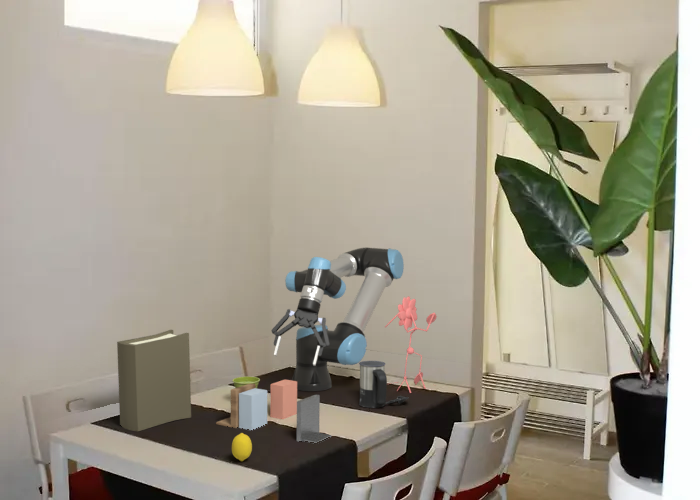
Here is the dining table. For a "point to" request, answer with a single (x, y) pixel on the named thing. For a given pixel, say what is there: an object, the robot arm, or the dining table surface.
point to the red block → (283, 399)
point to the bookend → (309, 420)
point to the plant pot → (245, 381)
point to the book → (154, 380)
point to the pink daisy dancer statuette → (406, 318)
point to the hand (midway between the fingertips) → (294, 360)
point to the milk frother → (374, 385)
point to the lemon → (241, 447)
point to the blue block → (252, 409)
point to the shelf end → (235, 406)
